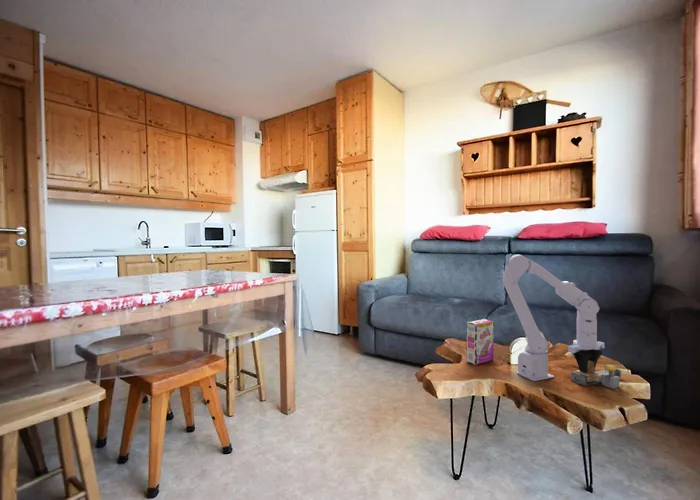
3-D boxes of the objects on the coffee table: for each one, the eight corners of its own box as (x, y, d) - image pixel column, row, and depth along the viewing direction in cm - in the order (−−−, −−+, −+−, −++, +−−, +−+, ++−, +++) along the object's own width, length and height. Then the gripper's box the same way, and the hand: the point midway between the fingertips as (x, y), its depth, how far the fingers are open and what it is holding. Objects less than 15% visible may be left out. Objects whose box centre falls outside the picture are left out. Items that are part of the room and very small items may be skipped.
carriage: (587, 382, 114) (587, 364, 114) (575, 377, 118) (575, 359, 118) (598, 380, 115) (598, 362, 115) (585, 375, 119) (585, 358, 119)
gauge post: (612, 388, 110) (612, 378, 110) (602, 384, 114) (601, 374, 114) (619, 387, 111) (619, 377, 111) (608, 383, 115) (608, 373, 114)
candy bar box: (476, 366, 133) (476, 324, 132) (466, 362, 137) (465, 322, 137) (494, 360, 138) (494, 320, 138) (484, 357, 143) (483, 318, 142)
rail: (585, 385, 113) (585, 377, 113) (571, 380, 118) (571, 371, 118) (621, 378, 118) (621, 370, 118) (606, 373, 123) (606, 365, 123)
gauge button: (611, 382, 111) (611, 368, 111) (603, 379, 113) (603, 365, 113) (617, 381, 112) (617, 366, 111) (609, 378, 114) (609, 364, 114)
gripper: (582, 336, 110) (582, 378, 110) (613, 332, 115) (613, 372, 115) (562, 331, 117) (562, 370, 117) (593, 327, 121) (593, 365, 122)
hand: (586, 370), depth 117 cm, fingers closed on carriage, 3 cm apart
